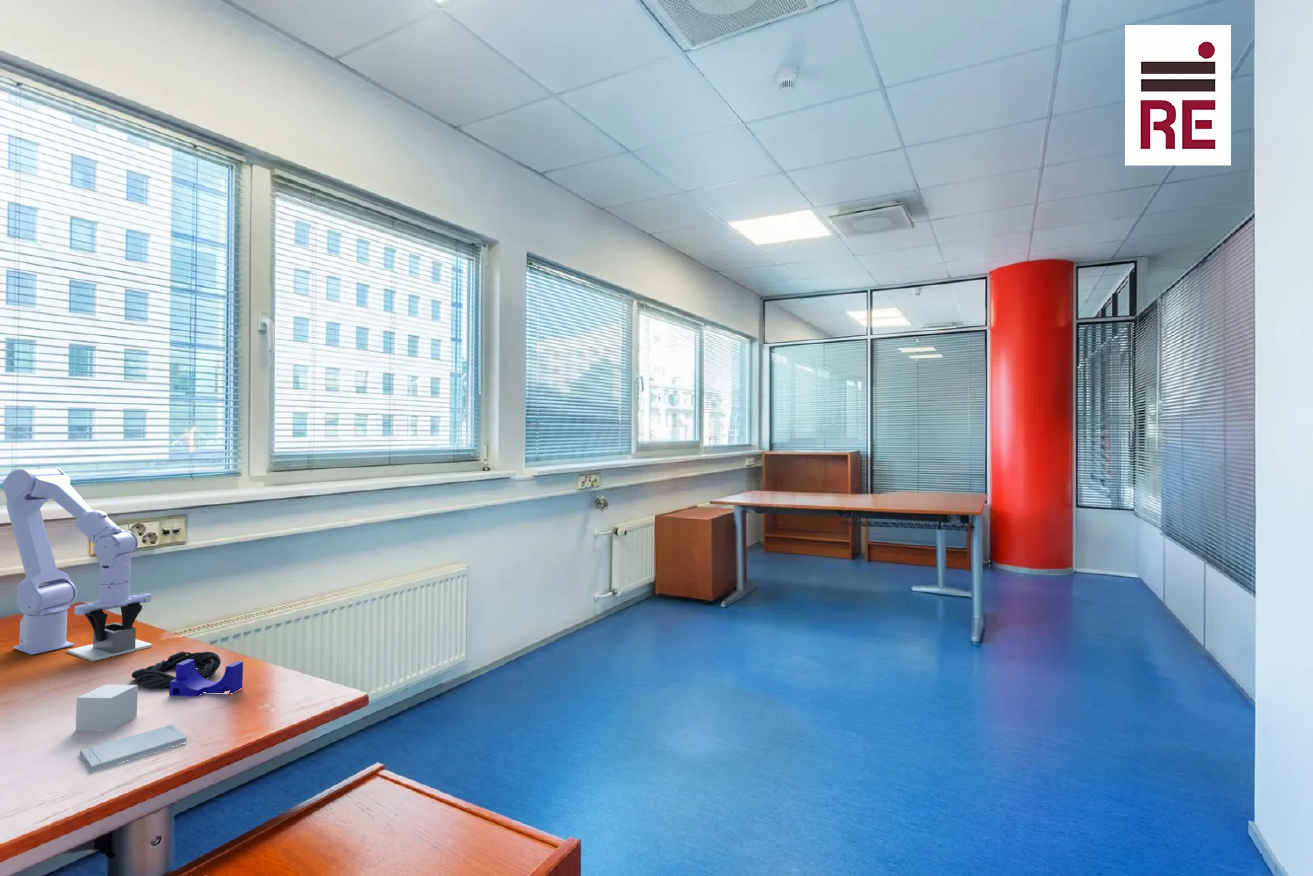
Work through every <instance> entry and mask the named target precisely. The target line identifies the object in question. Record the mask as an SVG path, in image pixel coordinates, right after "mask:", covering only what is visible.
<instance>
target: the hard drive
mask: <svg viewBox="0 0 1313 876" xmlns="http://www.w3.org/2000/svg"><path fill="white" fill-rule="evenodd" d="M184 742H186V743H187V737H186V735H185V734H184V733H183V732H181V731H180V730H179V729H178V728H177V727H175V725H174V724H169V725H165V726H161V727H158V728H154V729H151V730H148V731H144V732H141V733H137V734H133V735H130V736H126V737H122V738H120V739H116V740H112V741H109V742H105V743H101V744H99V745H95V746H91V747H89V748H84V749H82V750H80V751H79V757H80V759H82V762H83V763H84V764H85V765H86V767H87V768H88V770H89V771H90V773H94V772H97V771H100V770H103V769H107V768H110V766H111V765H114V766H117V765H119V764H118V763H121V762H123V761H127V760H130V761H133V760H132V759H134V758H137V757H140V758H142V757H141V756H144V755H147V756H149V754H150V755H153V754H155V753H154V752H157V753H159V752H158V751H160V752H163V751H166V750H168V749H167V748H170V747H172V746H176V745H179V744H181V743H184ZM176 747H177V746H176ZM165 749H166V750H165ZM170 749H171V748H170ZM162 750H163V751H162ZM151 753H152V754H151ZM144 757H145V756H144ZM137 759H138V758H137ZM134 760H135V759H134ZM127 762H128V761H127ZM116 764H117V765H116ZM121 764H122V763H121ZM111 767H112V766H111Z"/></svg>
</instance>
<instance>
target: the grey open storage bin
mask: <svg viewBox="0 0 1313 876" xmlns="http://www.w3.org/2000/svg"><path fill="white" fill-rule="evenodd" d="M136 633H137V628H136V627H134V626H132V627H131V626H127V625H124V624H122V623H120V622H112V623H107V624H105V636H104V641H101V642H100V641H97V640H96V636H95V632H94V631H93V635H92V637H93V638H92V644H93V648H96V649H99V650H102V651H105V652H108V653H111V654H114V653H118V652H122V651H127V650H131V649H135V640H136V639H137V637H136V636H137V635H136Z"/></svg>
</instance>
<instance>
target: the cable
mask: <svg viewBox="0 0 1313 876" xmlns="http://www.w3.org/2000/svg"><path fill="white" fill-rule="evenodd" d="M187 659H193V660H195V667H196V668H201V669H197V671H198V673H199V674H200V675H201V676H202V677H203V678H204V679H207V678H209V679H211V678H212V676H214V674H215V673H216V671H217V670H218V669H219V668H220V666H221V658H220V656H219V654H217V653H215V652H214V651H212V652H211V651H203V652H199V651H198V652H193V653H192V652H188V651H187V652H186V651H179V652H176V653H174V654H172V655H170V656H169V657H168V658H167V660H164V659H161V661H159V662H157V663H156V664H153V665H149V666H147V667H146V668H145V667H144V668H140V669H138V670H134V671H133V672H132V673H131V678H133V679H134V682H135V683H137V682H140V684H141V685H143V687H144V688H154V687H156V688H157V689H164V688H170V681H172V680H174V679H176V676H174V675H171V674H168V673H167V672H164V671H165V670H164V669H166V670H171V669H170V668H172V669H174V668H175V669H176V664H178V663H180V662H183V661H185V660H187ZM203 668H204V669H203ZM207 680H208V679H207Z"/></svg>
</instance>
